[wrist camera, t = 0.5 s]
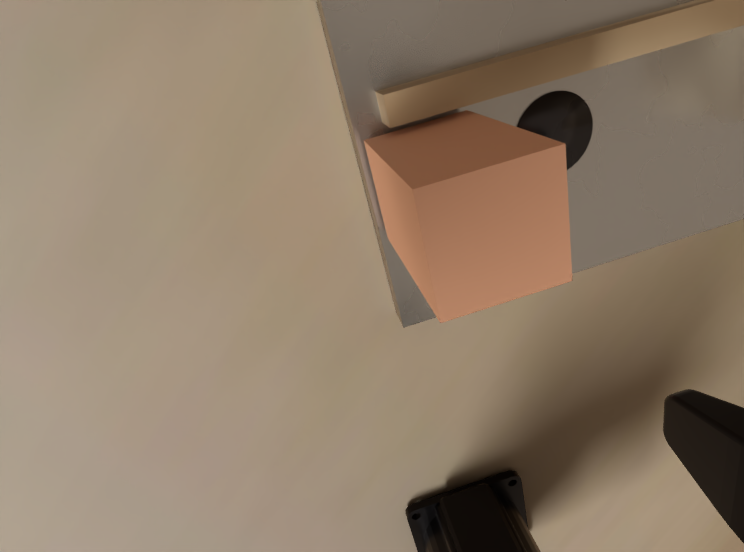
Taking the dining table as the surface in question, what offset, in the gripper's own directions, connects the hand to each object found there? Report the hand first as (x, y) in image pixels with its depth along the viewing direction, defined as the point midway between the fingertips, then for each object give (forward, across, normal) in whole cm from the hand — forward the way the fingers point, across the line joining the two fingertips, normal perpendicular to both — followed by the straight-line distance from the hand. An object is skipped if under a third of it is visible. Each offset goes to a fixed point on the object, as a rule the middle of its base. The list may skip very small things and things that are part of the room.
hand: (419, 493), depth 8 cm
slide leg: (+11, -4, -2) cm, 11 cm away
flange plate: (+12, -12, -2) cm, 17 cm away
